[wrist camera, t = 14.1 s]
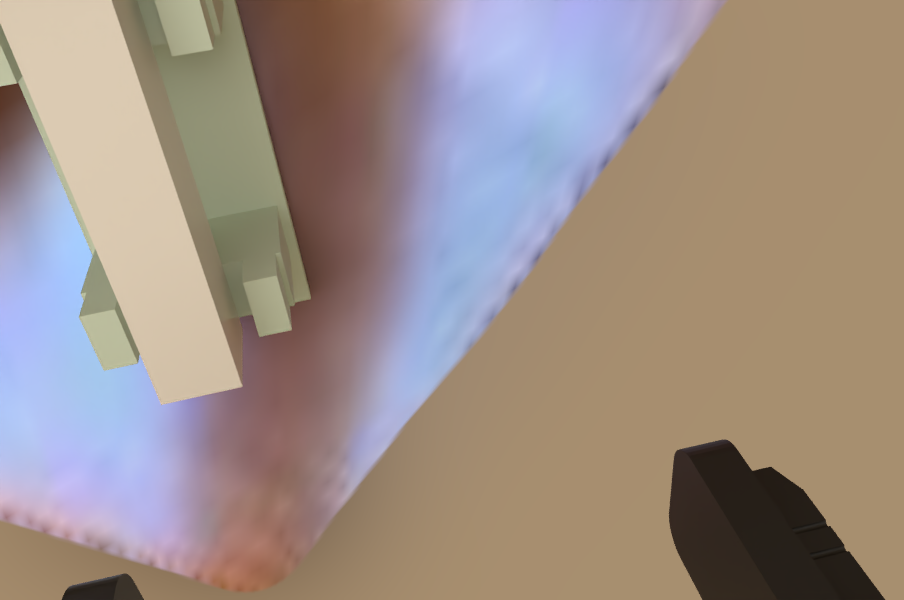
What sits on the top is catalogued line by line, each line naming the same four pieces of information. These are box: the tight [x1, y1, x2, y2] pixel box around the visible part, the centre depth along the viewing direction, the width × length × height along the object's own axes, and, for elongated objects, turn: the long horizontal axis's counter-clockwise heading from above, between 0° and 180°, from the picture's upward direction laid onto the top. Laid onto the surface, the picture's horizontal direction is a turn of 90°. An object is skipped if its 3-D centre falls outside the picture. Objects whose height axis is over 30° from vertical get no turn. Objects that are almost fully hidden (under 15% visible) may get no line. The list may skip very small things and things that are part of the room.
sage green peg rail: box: [0, 0, 311, 371], centre depth 35 cm, size 22×10×8 cm, turn 7°
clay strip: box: [0, 0, 243, 405], centre depth 31 cm, size 18×4×4 cm, turn 7°
